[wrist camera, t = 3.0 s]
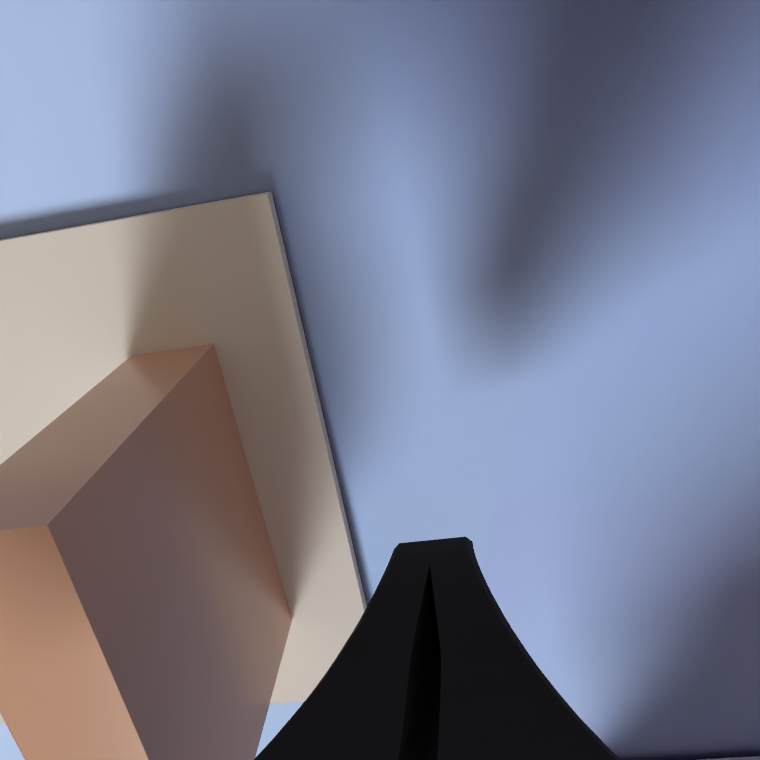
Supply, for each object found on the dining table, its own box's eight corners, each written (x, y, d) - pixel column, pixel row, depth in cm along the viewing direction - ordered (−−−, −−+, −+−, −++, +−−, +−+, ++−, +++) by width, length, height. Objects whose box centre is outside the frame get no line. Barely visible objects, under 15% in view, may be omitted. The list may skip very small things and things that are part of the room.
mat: (271, 191, 14) (267, 193, 13) (384, 683, 19) (383, 695, 19) (-255, 285, 16) (-272, 289, 15) (-21, 714, 21) (-29, 725, 20)
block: (213, 343, 15) (47, 524, 8) (292, 619, 18) (214, 910, 11) (121, 357, 15) (-109, 542, 9) (213, 626, 18) (93, 913, 12)
